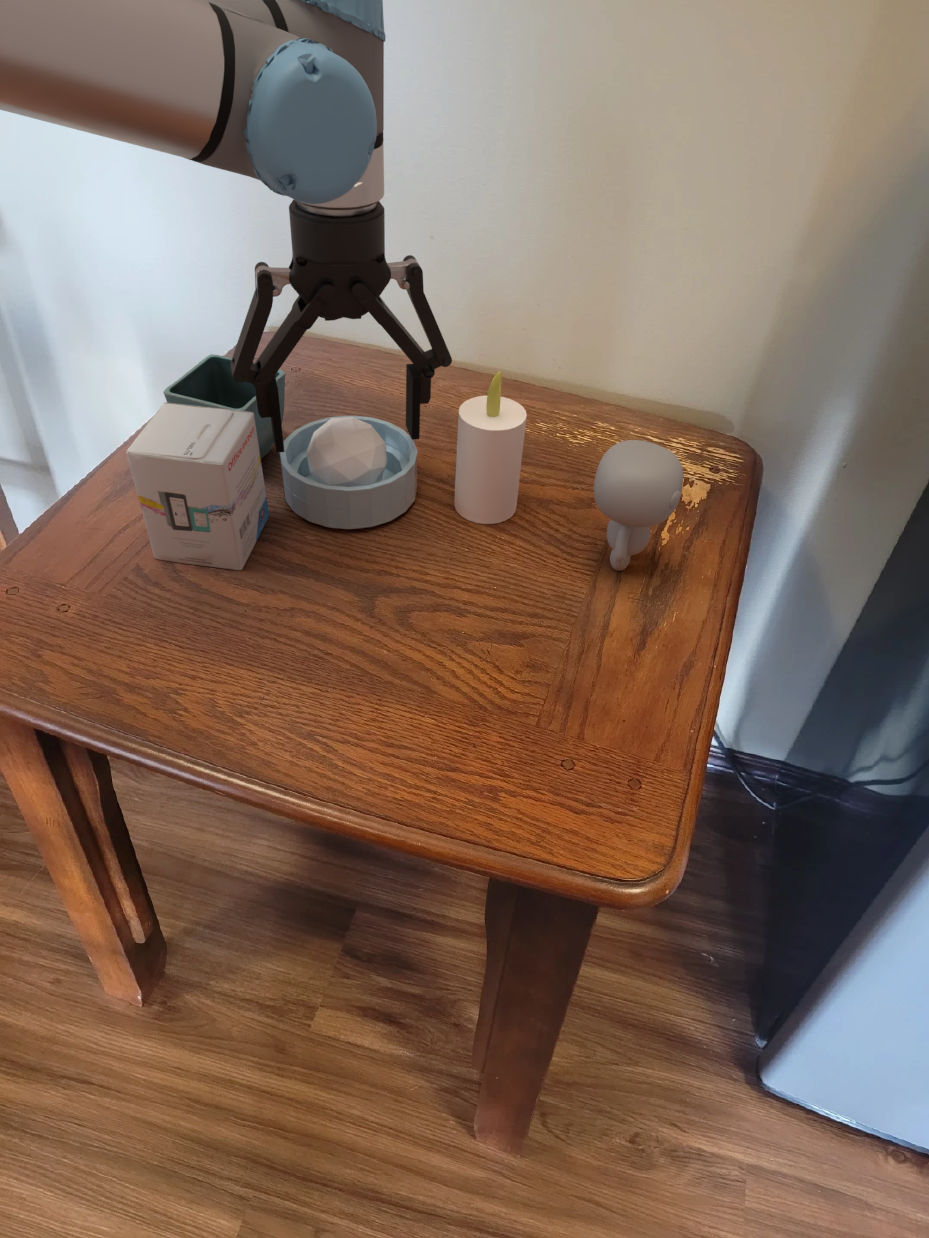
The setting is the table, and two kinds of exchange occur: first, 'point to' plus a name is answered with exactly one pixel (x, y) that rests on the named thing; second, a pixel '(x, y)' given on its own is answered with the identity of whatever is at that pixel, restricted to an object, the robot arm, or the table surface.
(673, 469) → the figurine
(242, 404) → the flower pot
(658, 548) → the table surface
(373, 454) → the geometric ball
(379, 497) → the bowl
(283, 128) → the robot arm
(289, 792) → the table surface
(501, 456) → the candle
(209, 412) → the ink box
